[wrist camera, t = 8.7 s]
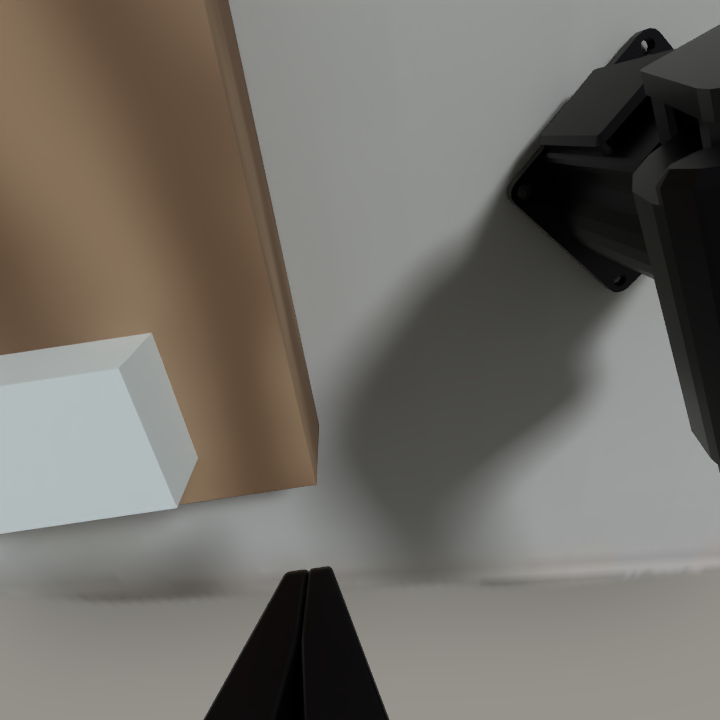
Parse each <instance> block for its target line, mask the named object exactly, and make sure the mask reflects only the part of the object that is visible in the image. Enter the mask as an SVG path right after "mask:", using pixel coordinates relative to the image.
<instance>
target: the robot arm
mask: <svg viewBox="0 0 720 720" xmlns="http://www.w3.org/2000/svg"><path fill="white" fill-rule="evenodd" d="M643 40H644V41H646V43H647V45H648V46H647V51H646V53H645V55H644V56H642V55H641V54H640V52H639V47H640V44H641V42H642V41H643ZM540 144H541V147H540V148H539V149H538V150H537V151H536V153H535V154H534V155H533V156H532V157H531V159H530V160H529V161H528V162H527V163H526V165H525V166H524V167H523V168H522V170H521V171H520V172H519V173H518V174H517V176H516V177H515V178H514V179H513V180H512V182H511V183H510V185H509V187H508V190H507V195H508V199H509V200H510V202H511V203H512V204H513V205H514V206H516V207H517V208H518V209H519V210H520V211H521V212H522V213H523V214H524V215H526V216H527V217H528V218H529V219H530V220H531V221H532V222H533V223H534V224H536V225H537V226H538V227H539V228H540V229H541V230H542V231H543V232H544V233H546V234H547V235H548V236H549V237H550V238H551V239H552V240H553V241H554V242H556V243H557V244H558V245H559V246H560V247H561V248H562V249H563V250H564V251H566V252H567V253H568V254H569V255H570V256H571V257H572V258H573V259H574V260H576V261H577V262H578V263H579V264H580V265H581V266H582V267H583V268H584V269H586V270H587V271H588V272H589V273H590V274H591V275H592V276H593V277H594V278H595V279H597V280H598V281H599V282H600V283H601V284H602V285H603V286H604V287H606V288H608V289H609V290H611V291H613V292H620V291H623V290H625V289H626V288H628V287H629V286H630V285H631V284H632V283H633V282H634V281H635V280H636V279H637V278H638V277H639V276H640V275H641V274H644V275H646V276H648V277H651V278H653V279H654V281H655V285H656V289H657V293H658V297H659V301H660V305H661V309H662V313H663V317H664V321H665V325H666V329H667V333H668V337H669V341H670V345H671V349H672V353H673V357H674V361H675V365H676V369H677V373H678V377H679V381H680V385H681V389H682V393H683V398H684V402H685V406H686V410H687V414H688V418H689V422H690V426H691V430H692V432H693V433H694V435H695V436H696V438H697V439H698V441H699V442H700V443H701V445H702V446H703V448H704V449H705V451H706V452H707V453H708V455H709V456H710V458H711V459H712V460H713V461H714V462H715V463H717V464H718V467H719V472H720V25H718V26H716V27H715V28H713V29H711V30H709V31H708V32H706V33H704V34H702V35H700V36H699V37H697V38H695V39H693V40H692V41H690V42H688V43H686V44H684V45H683V46H681V47H679V48H677V49H673V48H672V47H671V45H670V44H669V43H668V42H667V40H666V39H665V38H664V37H663V35H662V34H661V33H660V32H659V31H658V30H656V29H652V28H649V29H646V30H643V31H640V32H638V33H635V34H634V35H633V36H632V37H631V38H630V39H629V40H628V41H627V43H626V44H625V45H624V46H623V47H622V49H621V50H620V51H619V52H618V53H617V55H616V56H615V57H614V58H613V60H612V61H611V62H610V63H609V64H608V66H606V67H602V68H598V69H595V70H594V71H593V72H592V73H591V74H590V75H589V76H588V78H587V79H586V80H585V81H584V83H583V84H582V85H581V86H580V87H579V89H578V90H577V91H576V92H575V93H574V95H573V96H572V97H571V98H570V100H569V101H568V102H567V103H566V104H565V106H564V107H563V108H562V109H561V111H560V112H559V113H558V114H557V115H556V117H555V118H554V119H553V120H552V122H551V123H550V124H549V125H548V126H547V128H546V129H545V130H544V131H543V133H542V134H541V138H540ZM522 185H526V186H527V193H526V195H525V196H524V197H523V198H519V196H518V190H519V188H520V187H521V186H522ZM619 274H621V278H620V279H619V281H618V282H616V283H614V279H615V277H616V276H617V275H619ZM204 720H389V718H388V715H387V713H386V710H385V707H384V704H383V702H382V699H381V696H380V694H379V691H378V689H377V686H376V683H375V681H374V678H373V675H372V673H371V670H370V667H369V665H368V662H367V659H366V657H365V654H364V652H363V649H362V646H361V644H360V641H359V638H358V636H357V633H356V630H355V628H354V625H353V622H352V620H351V617H350V614H349V612H348V609H347V606H346V604H345V601H344V599H343V596H342V593H341V591H340V588H339V585H338V583H337V580H336V577H335V575H334V572H333V570H332V568H331V567H329V566H327V567H320V568H313V569H311V570H310V571H308V570H297V571H290V572H287V573H286V574H285V575H284V576H283V578H282V580H281V582H280V583H279V585H278V587H277V589H276V591H275V592H274V594H273V596H272V598H271V600H270V601H269V603H268V605H267V607H266V609H265V610H264V612H263V614H262V616H261V618H260V619H259V621H258V623H257V625H256V627H255V628H254V630H253V632H252V634H251V636H250V637H249V639H248V641H247V643H246V645H245V646H244V648H243V650H242V652H241V654H240V655H239V657H238V659H237V661H236V663H235V664H234V666H233V668H232V670H231V672H230V673H229V675H228V677H227V679H226V681H225V682H224V684H223V686H222V688H221V689H220V691H219V693H218V695H217V697H216V699H215V700H214V702H213V704H212V706H211V707H210V709H209V711H208V713H207V715H206V716H205V718H204Z"/></svg>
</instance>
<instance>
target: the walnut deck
mask: <svg viewBox="0 0 720 720" xmlns="http://www.w3.org/2000/svg"><path fill="white" fill-rule="evenodd" d="M146 333H152V335H153V338H154V340H155V343H156V346H157V348H158V351H159V354H160V357H161V359H162V362H163V365H164V367H165V370H166V373H167V376H168V378H169V381H170V384H171V386H172V389H173V392H174V395H175V397H176V400H177V403H178V405H179V408H180V411H181V414H182V416H183V419H184V422H185V424H186V427H187V430H188V433H189V435H190V438H191V441H192V443H193V446H194V449H195V451H196V454H197V457H198V459H197V462H196V464H195V466H194V469H193V471H192V474H191V476H190V478H189V481H188V483H187V486H186V488H185V490H184V493H183V495H182V498H181V500H180V502H179V505H180V504H187V503H194V502H201V501H208V500H214V499H221V498H228V497H235V496H242V495H249V494H256V493H263V492H269V491H276V490H283V489H290V488H297V487H304V486H311V485H316V483H317V461H318V439H319V423H318V418H317V413H316V409H315V404H314V399H313V395H312V390H311V385H310V381H309V376H308V371H307V367H306V362H305V357H304V353H303V348H302V343H301V338H300V334H299V329H298V324H297V320H296V315H295V310H294V306H293V301H292V296H291V292H290V287H289V282H288V278H287V273H286V268H285V264H284V259H283V254H282V250H281V245H280V240H279V236H278V231H277V226H276V222H275V217H274V212H273V208H272V203H271V198H270V193H269V189H268V184H267V179H266V175H265V170H264V165H263V161H262V156H261V151H260V147H259V142H258V137H257V133H256V128H255V123H254V119H253V114H252V109H251V105H250V100H249V95H248V91H247V86H246V81H245V77H244V72H243V67H242V63H241V58H240V53H239V49H238V44H237V39H236V34H235V30H234V25H233V20H232V16H231V11H230V6H229V2H228V0H0V355H6V354H13V353H20V352H26V351H33V350H39V349H46V348H53V347H59V346H66V345H73V344H79V343H86V342H93V341H99V340H106V339H113V338H119V337H126V336H133V335H139V334H146Z"/></svg>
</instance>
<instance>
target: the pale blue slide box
mask: <svg viewBox="0 0 720 720" xmlns="http://www.w3.org/2000/svg"><path fill="white" fill-rule="evenodd" d="M197 459H198V457H197V454H196V451H195V449H194V446H193V443H192V441H191V438H190V435H189V433H188V430H187V427H186V424H185V422H184V419H183V416H182V414H181V411H180V408H179V405H178V403H177V400H176V397H175V395H174V392H173V389H172V386H171V384H170V381H169V378H168V376H167V373H166V370H165V367H164V365H163V362H162V359H161V357H160V354H159V351H158V348H157V346H156V343H155V340H154V338H153V335H152V333H146V334H139V335H133V336H126V337H119V338H113V339H106V340H99V341H93V342H86V343H79V344H73V345H66V346H59V347H53V348H46V349H39V350H33V351H26V352H20V353H13V354H6V355H0V534H2V533H9V532H16V531H23V530H30V529H37V528H44V527H51V526H58V525H64V524H71V523H78V522H85V521H92V520H99V519H106V518H113V517H119V516H126V515H133V514H140V513H147V512H154V511H161V510H168V509H174V508H177V507H178V505H179V502H180V500H181V498H182V495H183V493H184V490H185V488H186V486H187V483H188V481H189V478H190V476H191V474H192V471H193V469H194V466H195V464H196V462H197Z"/></svg>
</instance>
